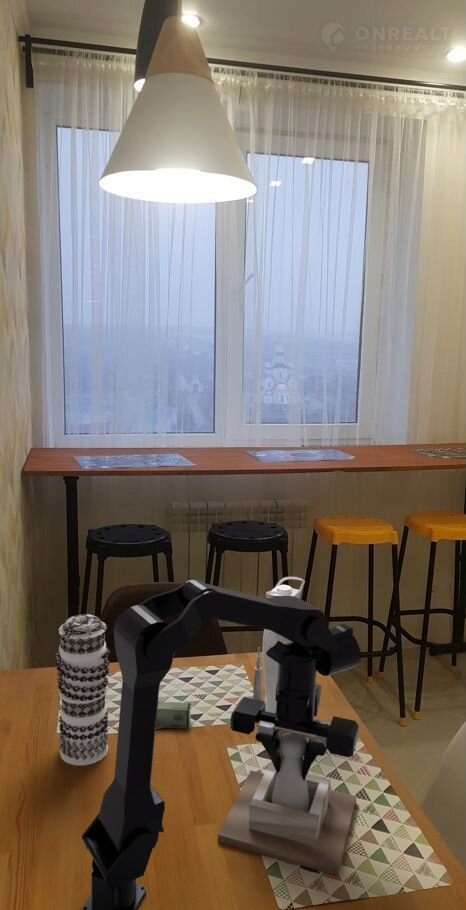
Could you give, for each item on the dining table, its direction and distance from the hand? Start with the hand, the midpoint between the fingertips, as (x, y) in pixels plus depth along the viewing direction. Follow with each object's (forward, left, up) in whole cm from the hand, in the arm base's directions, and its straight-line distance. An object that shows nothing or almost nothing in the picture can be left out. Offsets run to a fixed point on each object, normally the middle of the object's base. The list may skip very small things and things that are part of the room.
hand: (291, 776), depth 104 cm
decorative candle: (+4, +39, -8) cm, 40 cm away
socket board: (0, 0, -8) cm, 8 cm away
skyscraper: (+29, +10, -8) cm, 32 cm away
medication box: (+17, +30, -8) cm, 36 cm away
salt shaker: (0, 0, -7) cm, 7 cm away
